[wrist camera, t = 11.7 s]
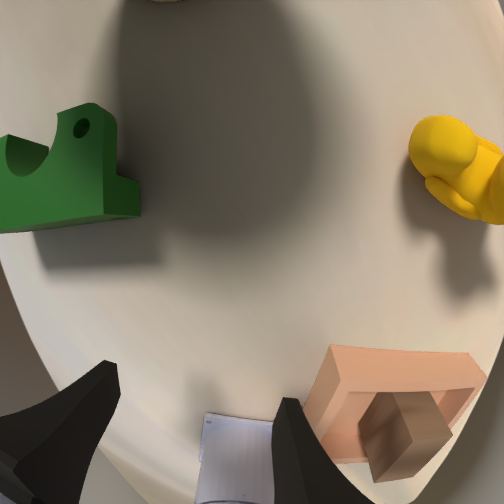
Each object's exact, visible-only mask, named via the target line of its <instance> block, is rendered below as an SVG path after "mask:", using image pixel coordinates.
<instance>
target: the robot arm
mask: <svg viewBox="0 0 504 504" xmlns="http://www.w3.org/2000/svg"><path fill="white" fill-rule="evenodd" d="M120 395H121V393H120V386H119V379H118V371H117V364H116V363H113V362H109V361H106V360H103V361H102V362H101V363H99V364H98V365H97V366H95V367H94V368H93V369H91V370H90V371H89V372H87V373H86V374H85V375H83V376H82V377H81V378H79V379H78V380H77V381H75V382H74V383H72V384H71V385H69V386H68V387H67V388H65V389H63V390H62V391H60V392H59V393H57V394H56V395H54V396H52V397H50V398H49V399H47V400H45V401H43V402H41V403H39V404H37V405H34V406H32V407H30V408H27V409H25V410H22V411H20V412H17V413H13V414H10V415H6V416H2V417H0V504H79V500H80V495H81V492H82V488H83V484H84V481H85V477H86V474H87V470H88V467H89V465H90V462H91V459H92V456H93V454H94V451H95V449H96V447H97V445H98V443H99V441H100V439H101V437H102V435H103V433H104V432H105V430H106V428H107V426H108V424H109V422H110V420H111V418H112V416H113V414H114V412H115V409H116V407H117V404H118V401H119V398H120ZM199 461H200V462H201V467H200V473H199V478H198V484H197V490H196V496H195V501H194V504H375V503H373V502H372V501H371V500H370V499H368V498H367V497H366V496H365V495H363V494H362V493H361V492H360V491H359V490H358V489H357V488H356V487H355V486H354V485H353V484H352V483H351V482H350V481H349V480H348V479H347V478H346V477H345V476H344V475H343V474H342V473H341V471H340V470H339V469H338V468H337V466H336V465H335V464H334V463H333V461H332V460H331V459H330V457H329V456H328V454H327V453H326V451H325V450H324V448H323V447H322V445H321V444H320V442H319V440H318V439H317V437H316V435H315V433H314V431H313V430H312V428H311V426H310V424H309V422H308V420H307V418H306V416H305V414H304V412H303V409H302V407H301V405H300V402H299V400H298V399H296V398H285V397H283V399H282V401H281V404H280V407H279V409H278V412H277V414H276V417H275V420H274V422H268V421H259V420H251V419H244V418H237V417H230V416H224V415H218V414H212V413H207V414H205V416H204V423H203V431H202V439H201V447H200V456H199Z"/></svg>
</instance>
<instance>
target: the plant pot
mask: <svg viewBox="0 0 504 504" xmlns="http://www.w3.org/2000/svg"><path fill="white" fill-rule="evenodd" d="M152 1H159V2H175V1H182V0H152Z"/></svg>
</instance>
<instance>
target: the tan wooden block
mask: <svg viewBox="0 0 504 504" xmlns="http://www.w3.org/2000/svg"><path fill="white" fill-rule="evenodd" d="M358 426H359V429H360V433H361V436H362V440H363V444H364V447H365V451H366V455H367V458H368V462H369V466H370V470H371V474H372V478H373V482H374V483H379V482H386V481H393V480H399V479H405V478H410V477H413V476H414V475H415V474H417V473H418V472H419V471H420V470H421V469H422V468H423V467H424V466H425V465H426V464H427V463H428V462H429V461H430V460H431V459H432V458H433V457H434V456H435V455H436V454H437V452H438V451H439V450H440V449H441V448H442V447H443V446H444V445H445V444H446V443H447V442H448V440H449V439H450V438H451V437H452V436H453V434H452V432H451V430H450V428H449V426H448V425H447V423H446V421H445V419H444V417H443V415H442V413H441V411H440V410H439V408H438V406H437V404H436V402H435V400H434V399H433V397H432V395H431V393H430V392H429V391H419V392H377V393H376V395H375V397H374V398H373V400H372V402H371V403H370V405H369V407H368V408H367V410H366V411H365V413H364V414H363V416H362V418H361V419H360V421H359V422H358Z"/></svg>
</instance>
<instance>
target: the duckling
mask: <svg viewBox="0 0 504 504" xmlns="http://www.w3.org/2000/svg"><path fill="white" fill-rule="evenodd" d="M409 156H410V158H411V161H412V163H413V164H414V166H415V167H416V169H417V170H418V171H419V172H420V173H421V174H422V175H423V176H424V177H425V178H426V180H425V186H426V188H427V189H428V191H429V192H430V193H431V194H432V195H433V196H434V197H435V198H436V199H437V200H438V201H440V202H441V203H442V204H444V205H445V206H447V207H448V208H450V209H451V210H452V211H454V212H456V213H457V214H459V215H461V216H463V217H465V218H468V219H472V220H478V219H480V220H482V221H484V222H487V223H490V224H494V225H504V156H503V153H502V151H501V150H500V148H499V147H498V146H496V145H495V144H493V143H492V142H490V141H488V140H486V139H483V138H481V137H479V136H477V135H475V134H474V132H473V131H472V130H471V129H470V128H469V127H468V126H467V125H466V124H464V123H463V122H462V121H460V120H458V119H456V118H454V117H451V116H445V115H439V116H430V117H427V118H424V119H423V120H421V121H420V122H419V123H418V124H417V125H416V126H415V128H414V130H413V132H412V134H411V138H410V141H409Z"/></svg>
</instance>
